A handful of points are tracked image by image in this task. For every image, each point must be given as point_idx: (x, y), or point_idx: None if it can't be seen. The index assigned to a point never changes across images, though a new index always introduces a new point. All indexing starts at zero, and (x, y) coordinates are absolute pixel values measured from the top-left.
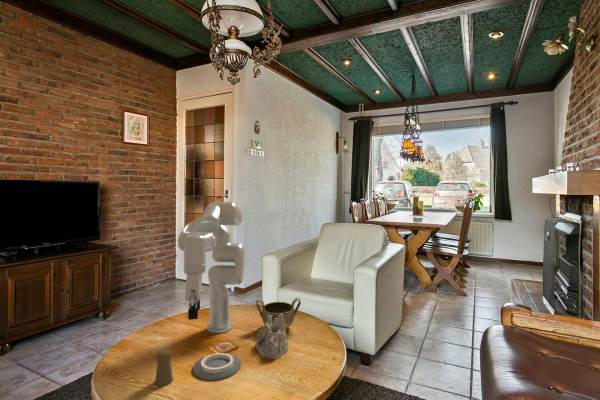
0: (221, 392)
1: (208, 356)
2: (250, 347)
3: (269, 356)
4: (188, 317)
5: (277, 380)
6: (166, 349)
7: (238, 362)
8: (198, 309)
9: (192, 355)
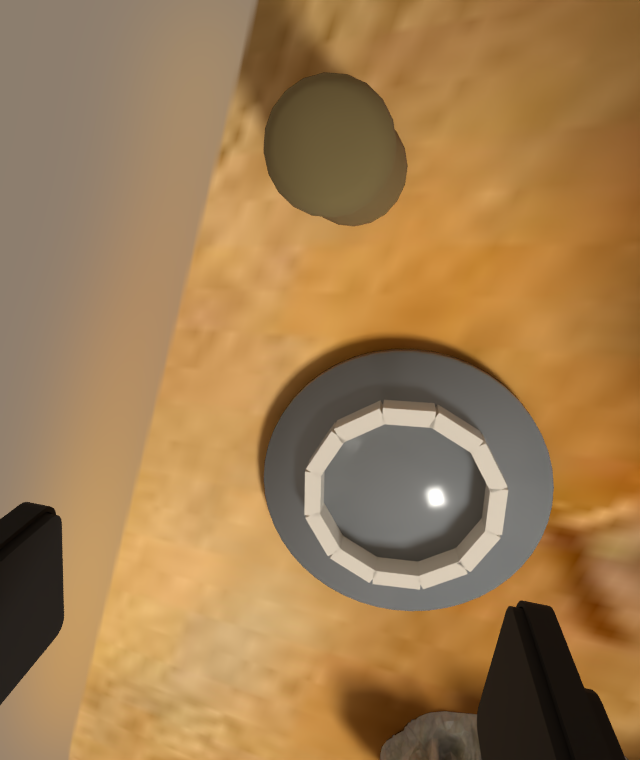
0: (157, 461)
1: (483, 462)
2: None
3: (398, 740)
4: (2, 519)
5: (187, 691)
6: (365, 163)
7: (381, 596)
8: (481, 708)
9: (634, 359)
